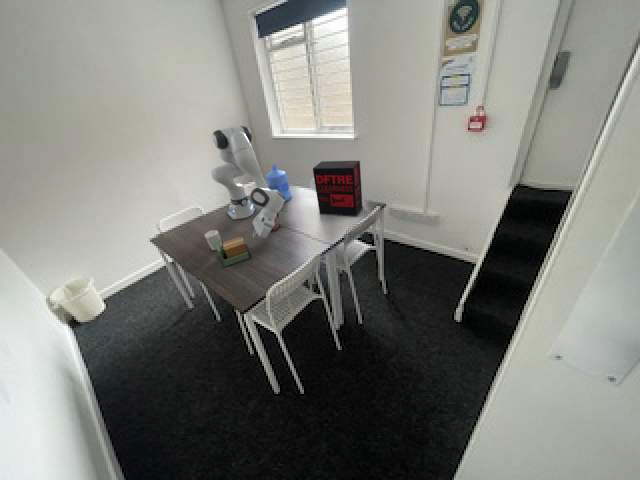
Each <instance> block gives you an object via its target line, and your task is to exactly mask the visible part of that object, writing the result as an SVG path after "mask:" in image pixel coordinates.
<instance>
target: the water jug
mask: <svg viewBox="0 0 640 480" xmlns="http://www.w3.org/2000/svg"><path fill="white" fill-rule="evenodd" d="M271 167H272V171H270V172H269V173H268V174H266V177H265V178H266V183H267V185H268V187H269V188H270V189H271V190H278V191H279V192H280V193H282V194H283V196H284V197H285V201H284V203H285V202H287V201H289V200H290V199H291V198H292V194H291V189H290V185H289V180H288V176H287V172H286V171H284V170H280V169H278V168H277V164H271Z"/></svg>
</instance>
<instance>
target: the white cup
mask: <svg viewBox="0 0 640 480" xmlns="http://www.w3.org/2000/svg"><path fill="white" fill-rule="evenodd" d="M204 238H205V240H206V242H207V243H208V245H209V247H210V249H211V250H212V251H217V245H216V240H217V239H218V241H219V244H220V246H221V248H223V242H222V239H221V235H220V233H219V231H218V230H217V229H213V230H209V231H207V232H206V233H204Z"/></svg>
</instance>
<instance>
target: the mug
mask: <svg viewBox="0 0 640 480" xmlns="http://www.w3.org/2000/svg"><path fill="white" fill-rule="evenodd" d="M279 214H280V213H279V212H278V213H277V214H276V217H275V219H274V224H275V225H274V227H273V228H272V227H271V231H270V232H274V231H277V230H278V229H279V228H280V227H279Z"/></svg>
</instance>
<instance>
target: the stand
mask: <svg viewBox="0 0 640 480" xmlns="http://www.w3.org/2000/svg"><path fill="white" fill-rule="evenodd" d="M216 245H217V250H216V251H217V253H218V256H219V258H220V261H221V263H222V265H223V267H224V268H225V267H227V266H230V265H233V264H236V263H240V262H242V261H245V260H247V259H250V255H249V252H248V251H247V252H245V253H242V254H240V255H237V256H234V257H231V258H225V255H226V253H225V250H224V247H221V246H220V244H219V241H218V239H217V240H216Z"/></svg>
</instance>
